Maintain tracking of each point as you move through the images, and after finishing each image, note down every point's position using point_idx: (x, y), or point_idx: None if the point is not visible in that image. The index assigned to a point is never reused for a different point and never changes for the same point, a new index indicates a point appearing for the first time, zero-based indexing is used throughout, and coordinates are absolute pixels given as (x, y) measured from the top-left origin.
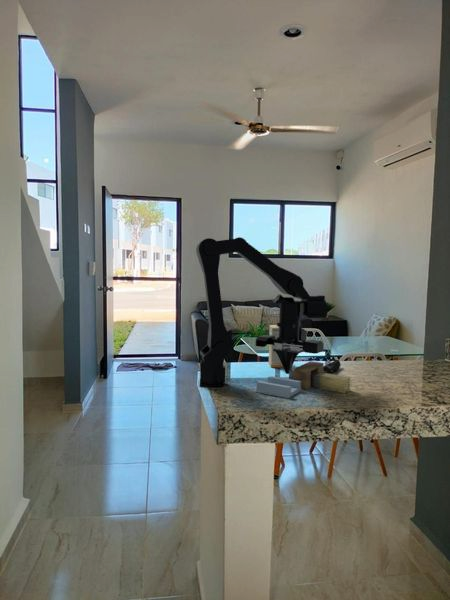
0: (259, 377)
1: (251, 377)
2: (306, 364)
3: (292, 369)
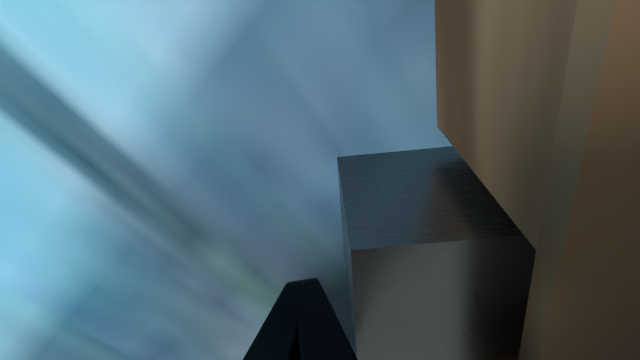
0: (52, 290)
1: (24, 326)
2: (608, 292)
3: (363, 321)
